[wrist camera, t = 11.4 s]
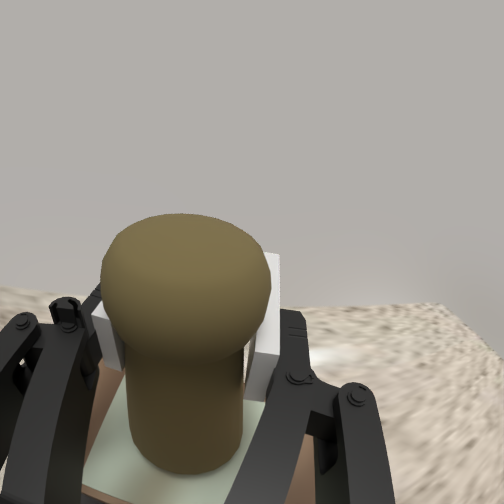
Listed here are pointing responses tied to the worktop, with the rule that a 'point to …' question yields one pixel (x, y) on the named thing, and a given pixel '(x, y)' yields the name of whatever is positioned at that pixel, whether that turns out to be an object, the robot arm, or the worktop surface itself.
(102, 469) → the board
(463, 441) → the worktop surface
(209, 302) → the cork
